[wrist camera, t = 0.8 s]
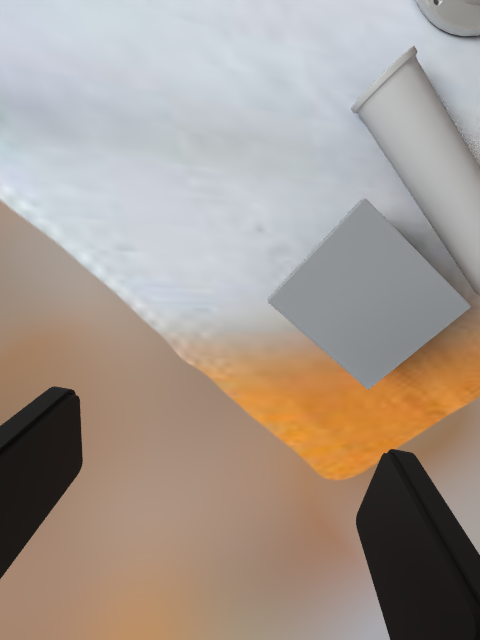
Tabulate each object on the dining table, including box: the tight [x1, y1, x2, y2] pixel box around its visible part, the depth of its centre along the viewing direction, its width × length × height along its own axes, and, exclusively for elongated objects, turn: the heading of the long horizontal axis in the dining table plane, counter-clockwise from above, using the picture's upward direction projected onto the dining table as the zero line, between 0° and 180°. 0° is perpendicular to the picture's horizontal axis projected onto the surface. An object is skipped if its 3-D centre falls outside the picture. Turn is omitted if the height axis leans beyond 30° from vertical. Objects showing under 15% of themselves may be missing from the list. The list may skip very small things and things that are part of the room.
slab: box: [268, 198, 471, 390], centre depth 27 cm, size 12×14×1 cm
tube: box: [351, 46, 480, 294], centre depth 27 cm, size 5×5×25 cm
